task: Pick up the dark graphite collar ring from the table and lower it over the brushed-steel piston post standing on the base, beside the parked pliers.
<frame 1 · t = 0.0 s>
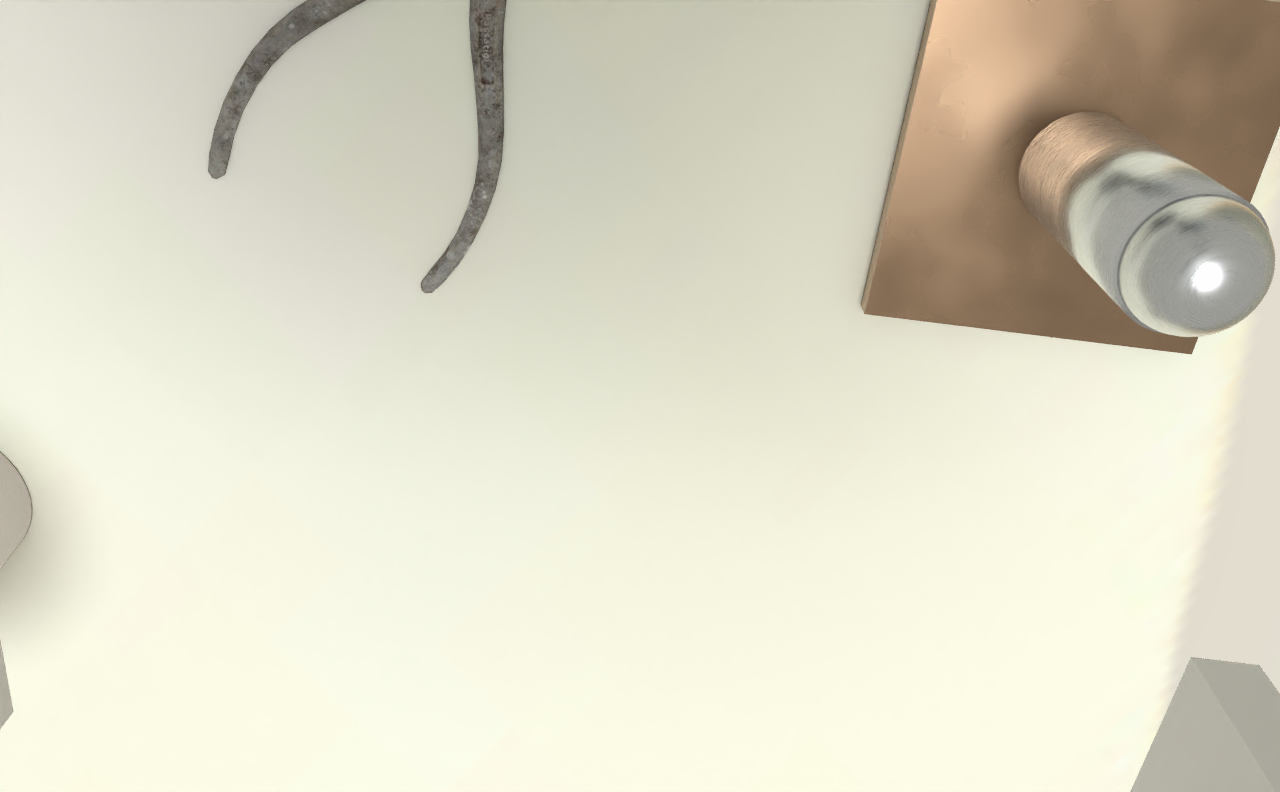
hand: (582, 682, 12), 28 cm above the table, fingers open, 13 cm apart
piston post: (1071, 165, 37), on the table
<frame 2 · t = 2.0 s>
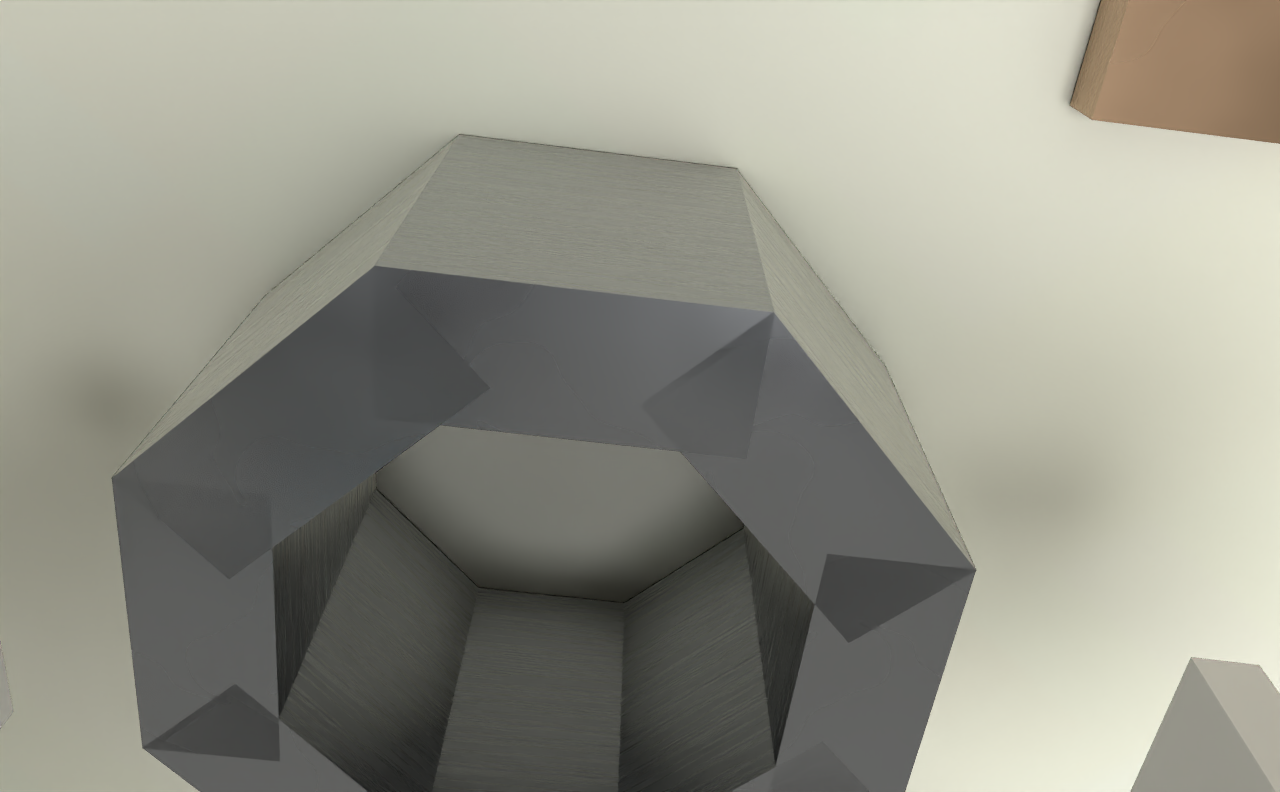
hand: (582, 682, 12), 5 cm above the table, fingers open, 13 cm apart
ring: (568, 442, 17), on the table
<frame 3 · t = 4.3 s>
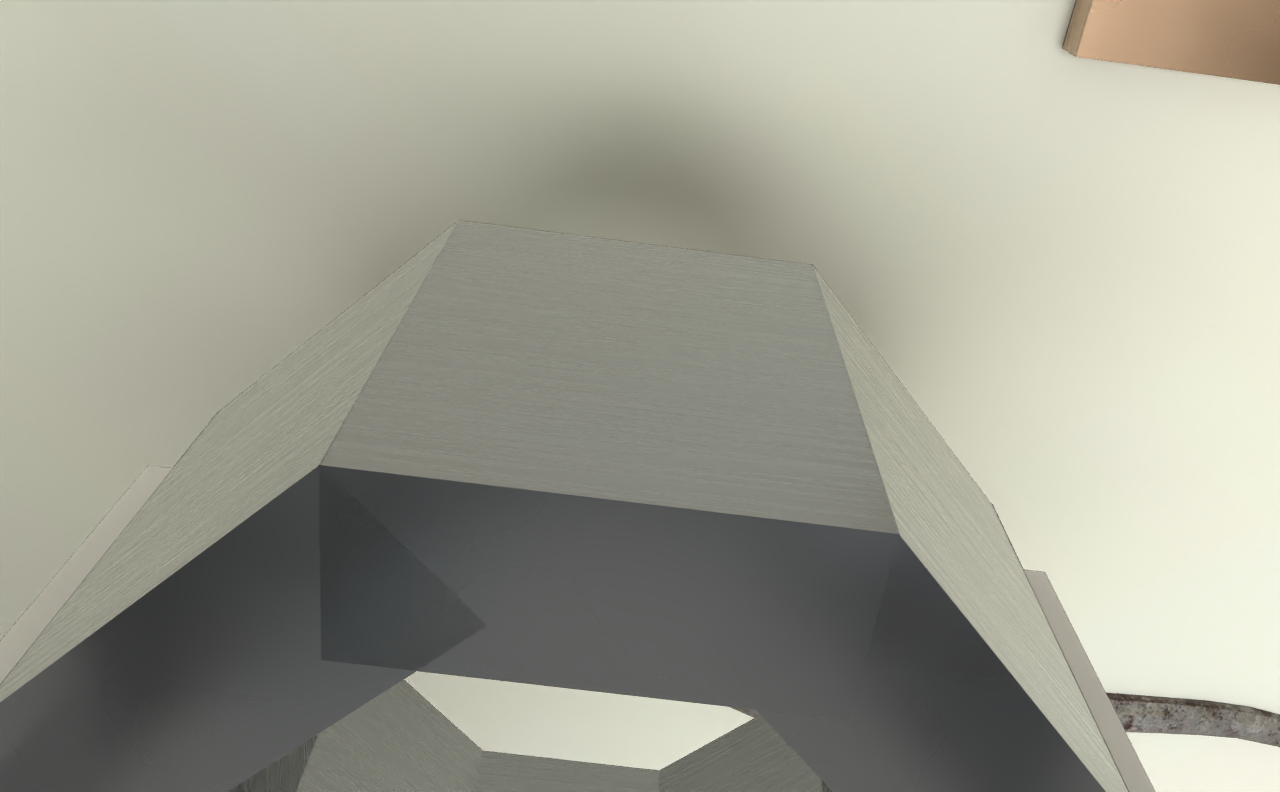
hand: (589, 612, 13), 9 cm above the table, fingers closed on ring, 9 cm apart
ring: (592, 588, 13), point 9 cm above the table, touching gripper
pliers: (969, 774, 27), on the table
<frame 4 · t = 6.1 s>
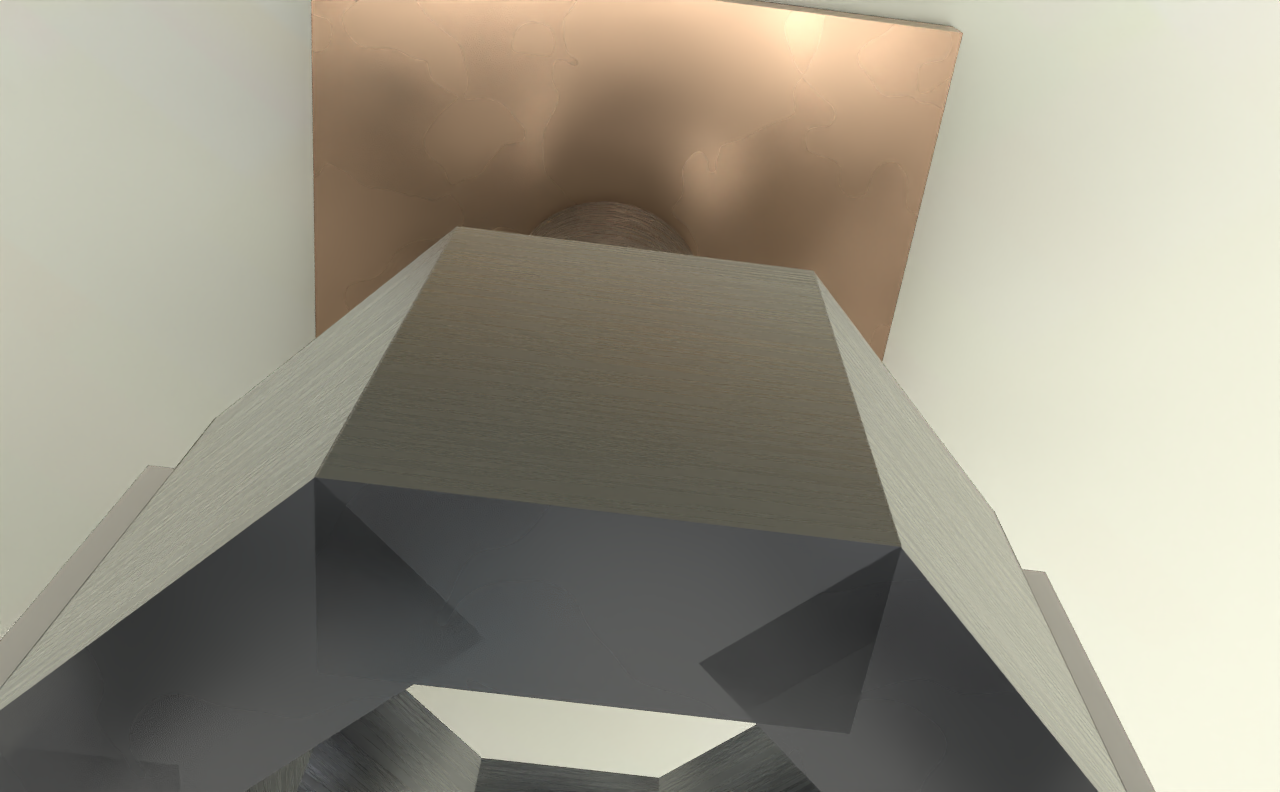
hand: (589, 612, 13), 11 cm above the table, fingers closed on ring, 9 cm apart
piston post: (607, 281, 23), on the table
ring: (592, 595, 13), point 11 cm above the table, touching gripper
when the fingers open (3 cm above the table, at t = 8.1 s): ring drops 2 cm, resting on piston post.
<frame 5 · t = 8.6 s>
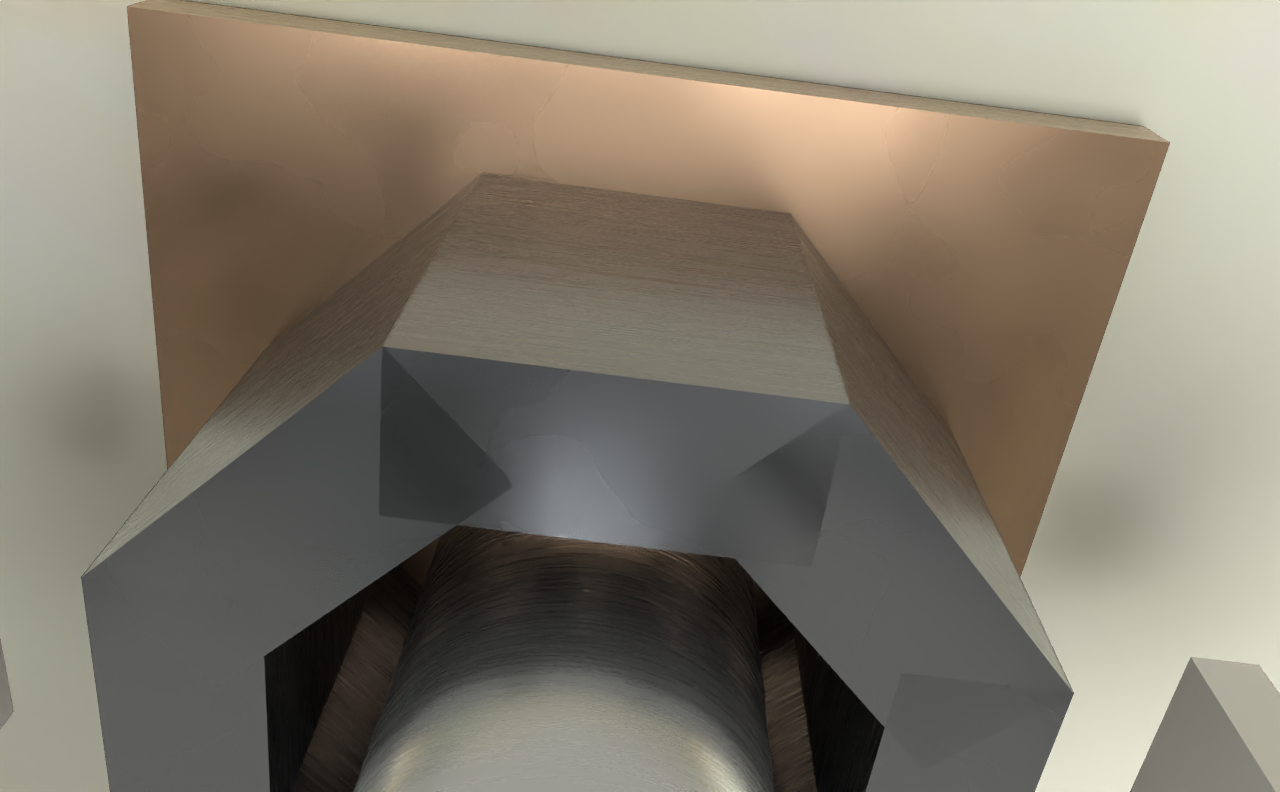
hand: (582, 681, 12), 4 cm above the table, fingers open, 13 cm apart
piston post: (604, 483, 16), on the table
ring: (597, 507, 15), point 1 cm above the table, touching piston post
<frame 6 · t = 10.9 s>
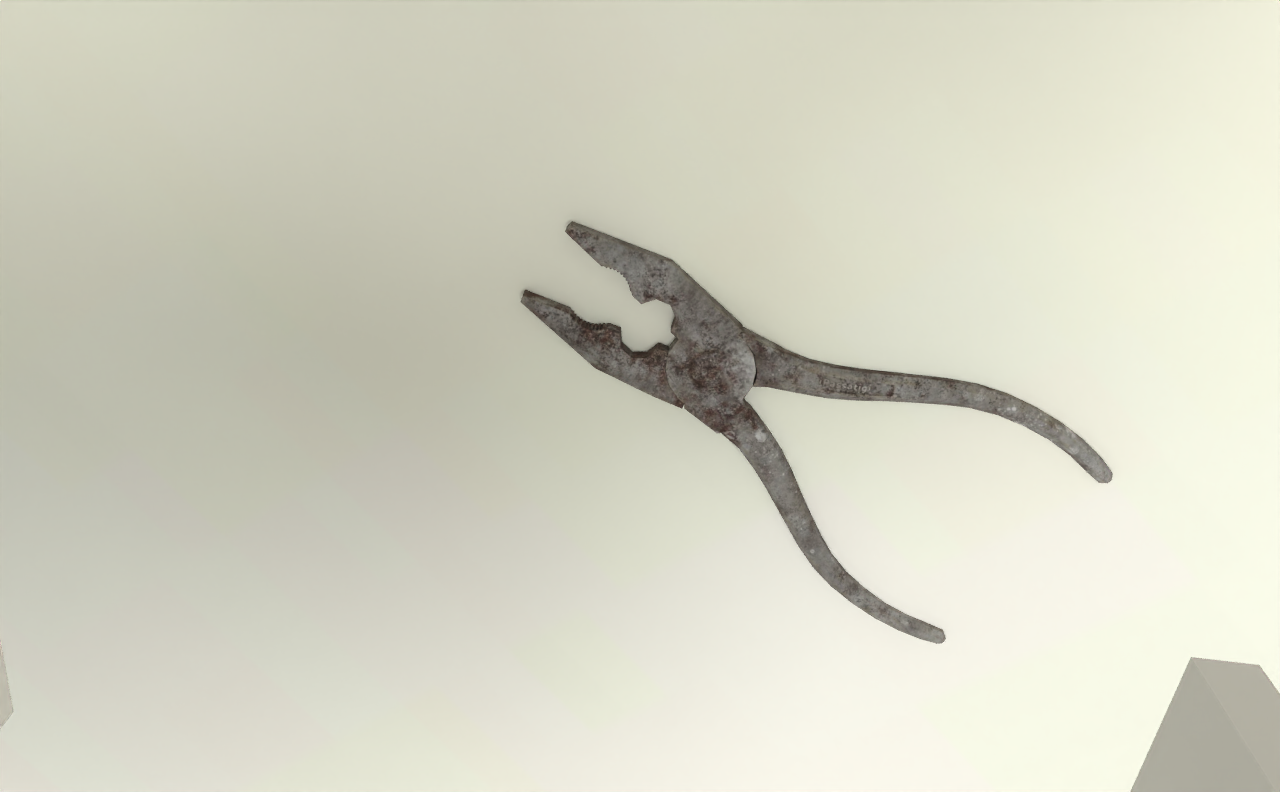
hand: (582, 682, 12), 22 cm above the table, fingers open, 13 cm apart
pliers: (786, 445, 37), on the table
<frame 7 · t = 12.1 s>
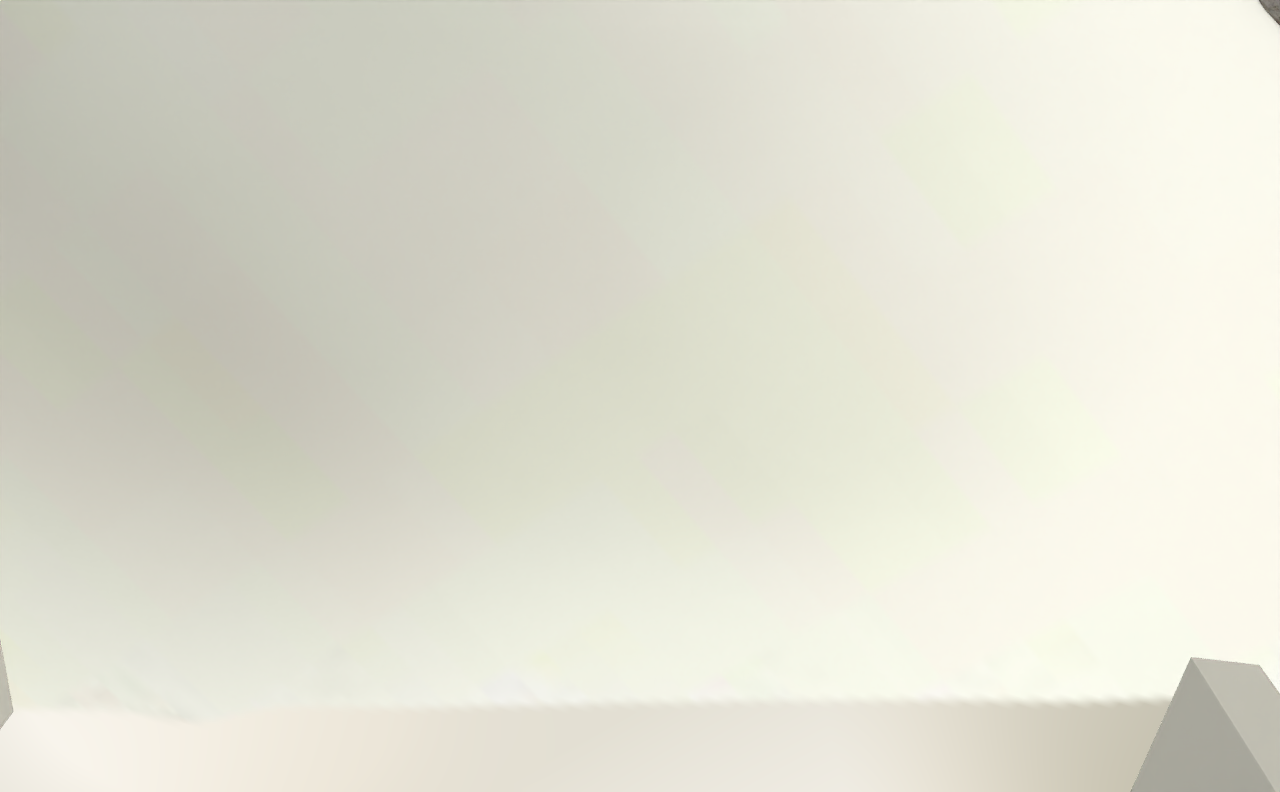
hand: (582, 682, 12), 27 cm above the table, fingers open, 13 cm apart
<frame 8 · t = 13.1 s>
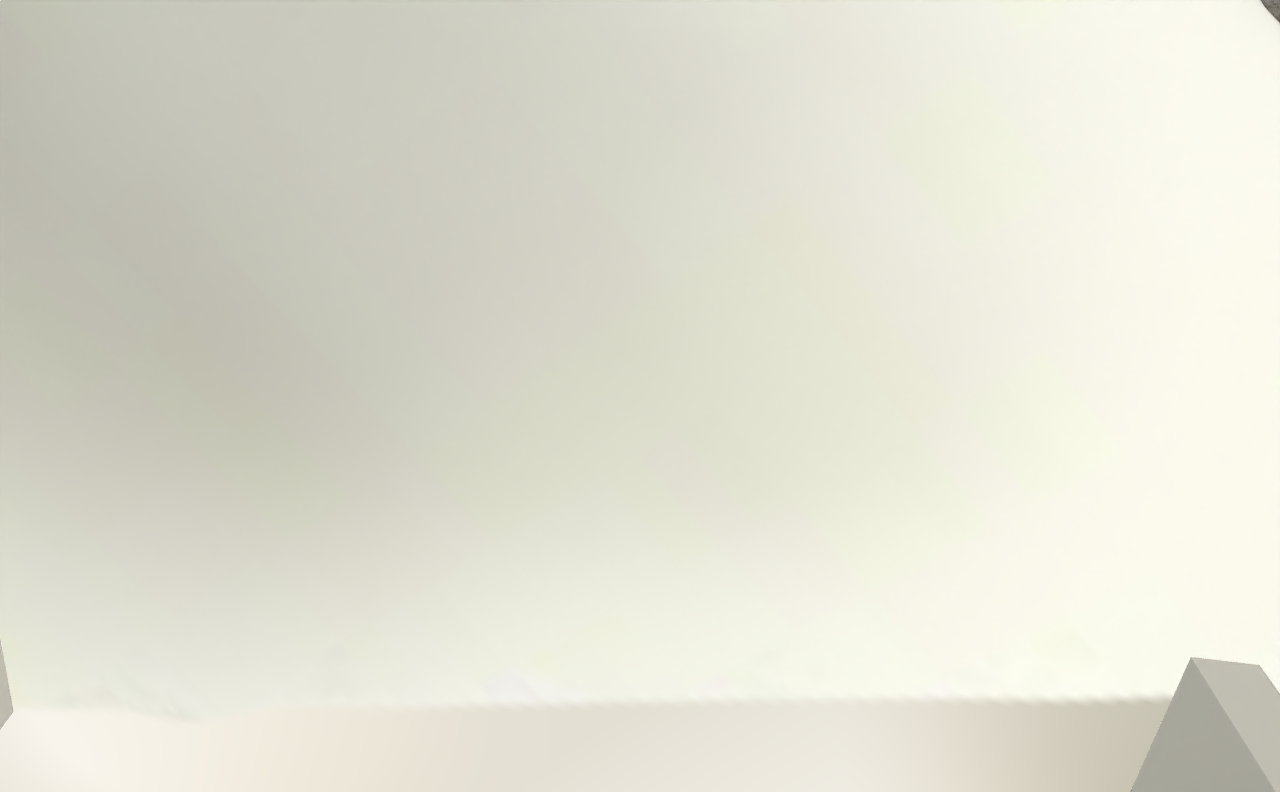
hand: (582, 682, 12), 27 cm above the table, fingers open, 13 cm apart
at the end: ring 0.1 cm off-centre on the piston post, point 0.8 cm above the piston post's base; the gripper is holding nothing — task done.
